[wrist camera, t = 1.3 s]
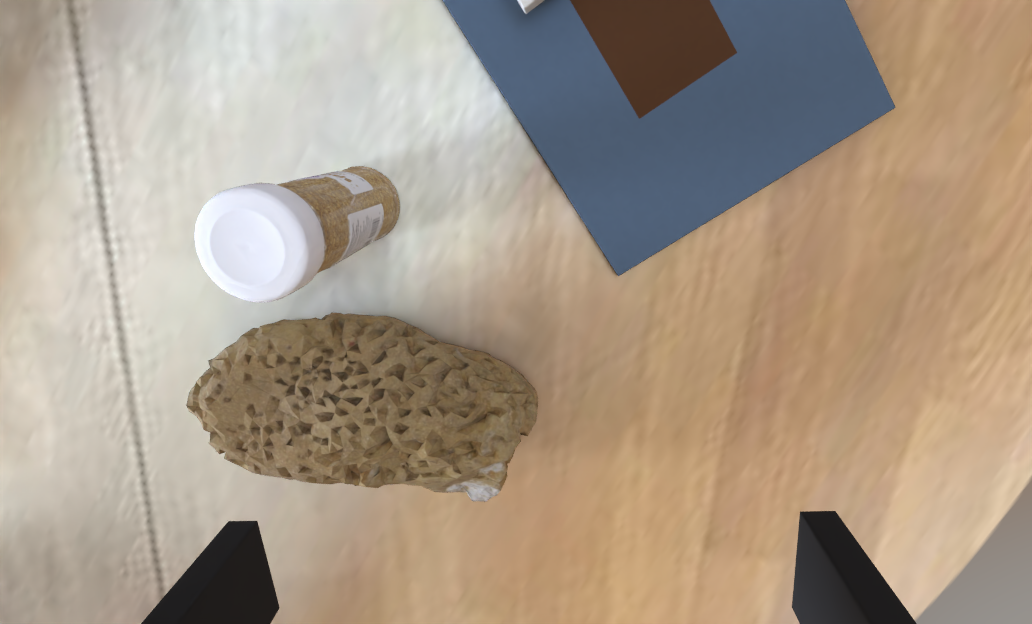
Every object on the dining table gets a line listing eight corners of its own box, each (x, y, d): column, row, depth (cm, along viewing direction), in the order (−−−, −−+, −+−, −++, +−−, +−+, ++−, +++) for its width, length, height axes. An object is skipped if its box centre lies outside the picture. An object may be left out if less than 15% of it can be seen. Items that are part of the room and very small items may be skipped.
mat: (377, -104, 29) (374, -108, 29) (668, -363, 25) (670, -372, 25) (617, 274, 34) (618, 276, 34) (890, 107, 30) (896, 107, 30)
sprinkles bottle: (369, 150, 33) (249, 161, 20) (416, 214, 34) (330, 263, 21) (312, 195, 34) (164, 233, 21) (360, 255, 35) (245, 327, 22)
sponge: (543, 339, 37) (227, 241, 32) (556, 421, 31) (161, 313, 26) (475, 470, 43) (202, 404, 39) (474, 562, 37) (144, 496, 32)
